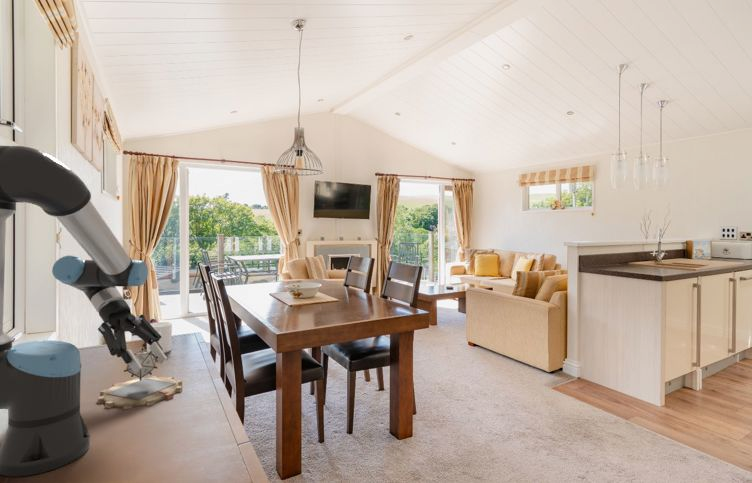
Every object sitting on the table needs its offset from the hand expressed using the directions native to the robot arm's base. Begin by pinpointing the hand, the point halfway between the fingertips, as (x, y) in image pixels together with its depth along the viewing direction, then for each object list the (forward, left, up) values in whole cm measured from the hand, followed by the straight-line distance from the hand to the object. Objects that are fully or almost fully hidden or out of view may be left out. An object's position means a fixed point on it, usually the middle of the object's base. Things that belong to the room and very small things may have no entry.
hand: (151, 365), depth 117 cm
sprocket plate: (0, +3, -8) cm, 9 cm away
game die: (-1, +3, -4) cm, 5 cm away
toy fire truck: (+40, +42, -9) cm, 59 cm away
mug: (+32, +31, -9) cm, 45 cm away
